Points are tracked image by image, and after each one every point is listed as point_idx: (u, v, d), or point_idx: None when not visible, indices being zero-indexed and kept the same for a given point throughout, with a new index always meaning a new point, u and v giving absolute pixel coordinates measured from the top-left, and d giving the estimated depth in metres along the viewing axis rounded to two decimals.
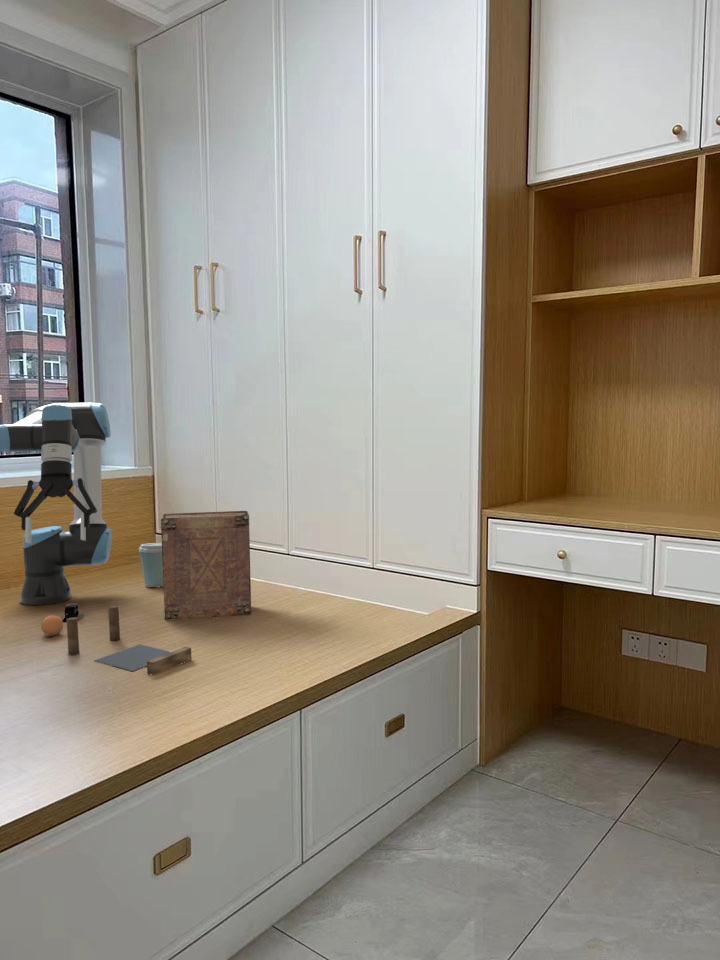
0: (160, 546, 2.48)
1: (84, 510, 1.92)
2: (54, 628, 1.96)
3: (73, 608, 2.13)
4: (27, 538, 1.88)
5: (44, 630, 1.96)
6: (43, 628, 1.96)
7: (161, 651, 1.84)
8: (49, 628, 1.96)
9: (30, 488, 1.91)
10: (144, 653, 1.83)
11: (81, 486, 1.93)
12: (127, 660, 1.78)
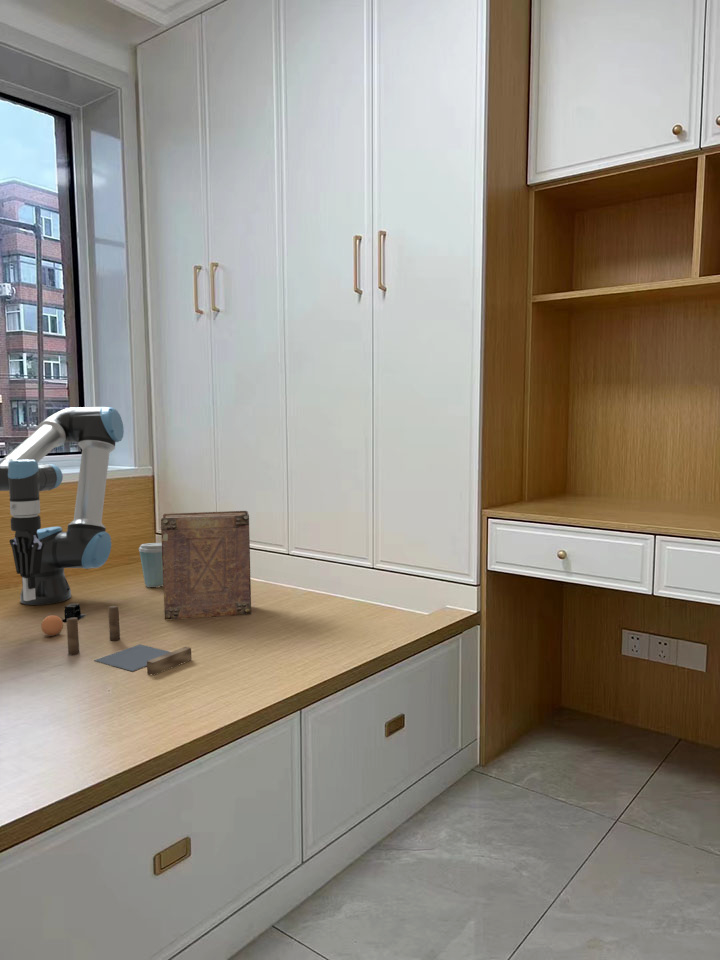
0: (160, 546, 2.48)
1: (27, 573, 2.00)
2: (54, 628, 1.96)
3: (72, 608, 2.13)
4: (24, 597, 2.01)
5: (44, 630, 1.96)
6: (43, 628, 1.96)
7: (161, 651, 1.84)
8: (49, 628, 1.96)
9: (13, 546, 2.03)
10: (144, 653, 1.83)
11: (33, 550, 1.98)
12: (127, 660, 1.78)
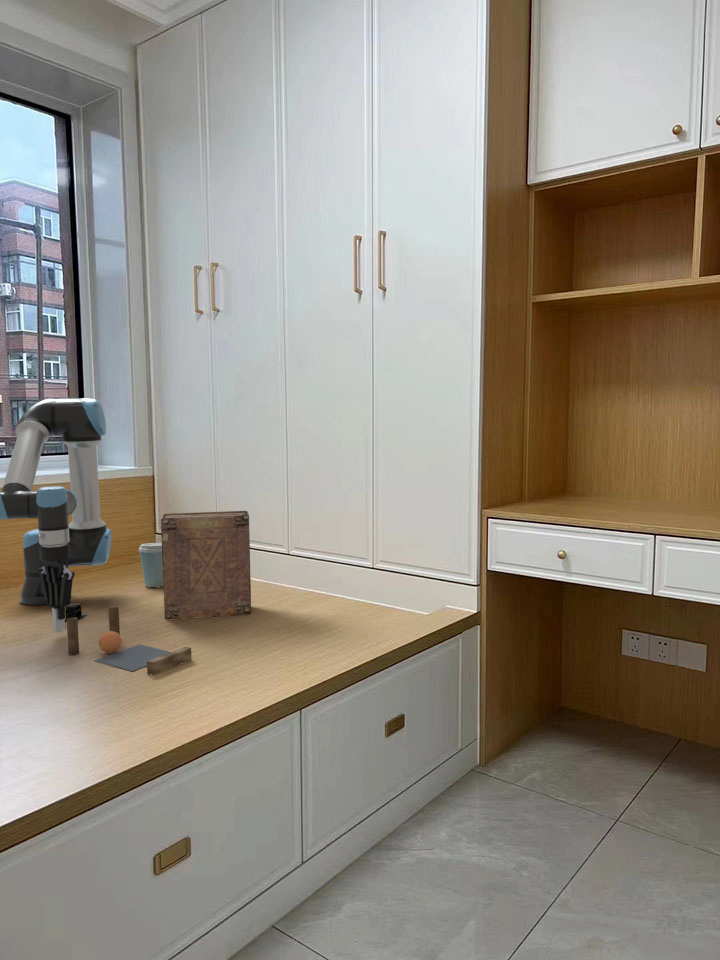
0: (160, 546, 2.48)
1: (56, 604, 1.94)
2: None
3: (73, 608, 2.13)
4: (54, 628, 1.96)
5: (99, 643, 1.82)
6: (100, 645, 1.82)
7: (161, 651, 1.84)
8: (99, 645, 1.83)
9: (41, 575, 1.97)
10: (144, 653, 1.83)
11: (63, 581, 1.92)
12: (127, 660, 1.78)
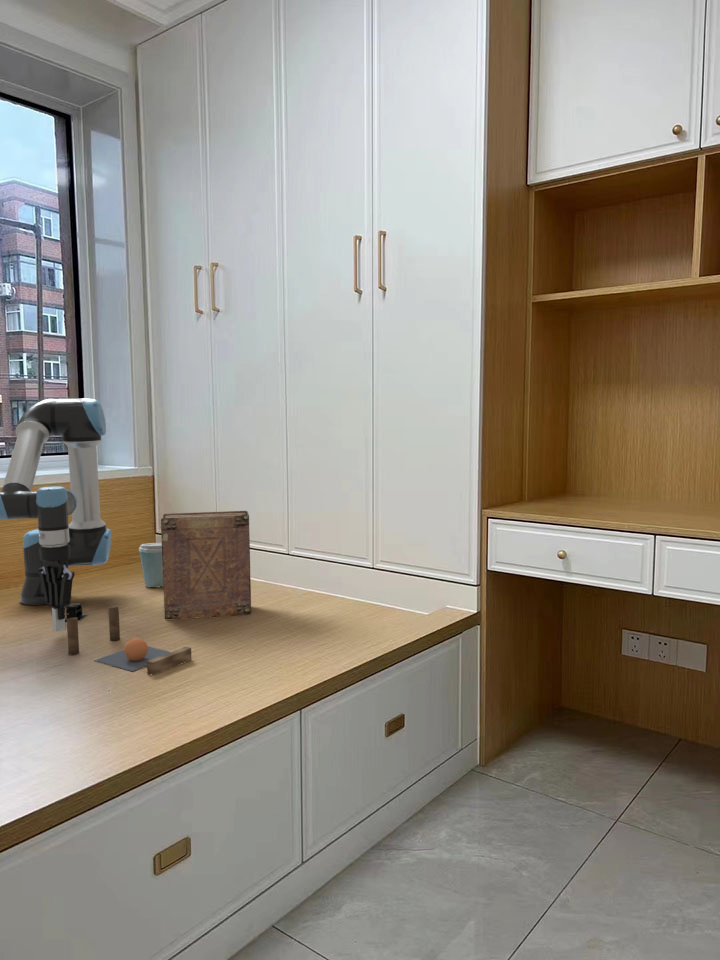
0: (160, 546, 2.48)
1: (56, 604, 1.94)
2: (139, 655, 1.76)
3: (74, 608, 2.13)
4: (54, 628, 1.96)
5: (128, 655, 1.76)
6: (127, 653, 1.76)
7: (161, 651, 1.84)
8: (134, 655, 1.75)
9: (41, 575, 1.97)
10: None
11: (63, 581, 1.92)
12: (127, 660, 1.78)
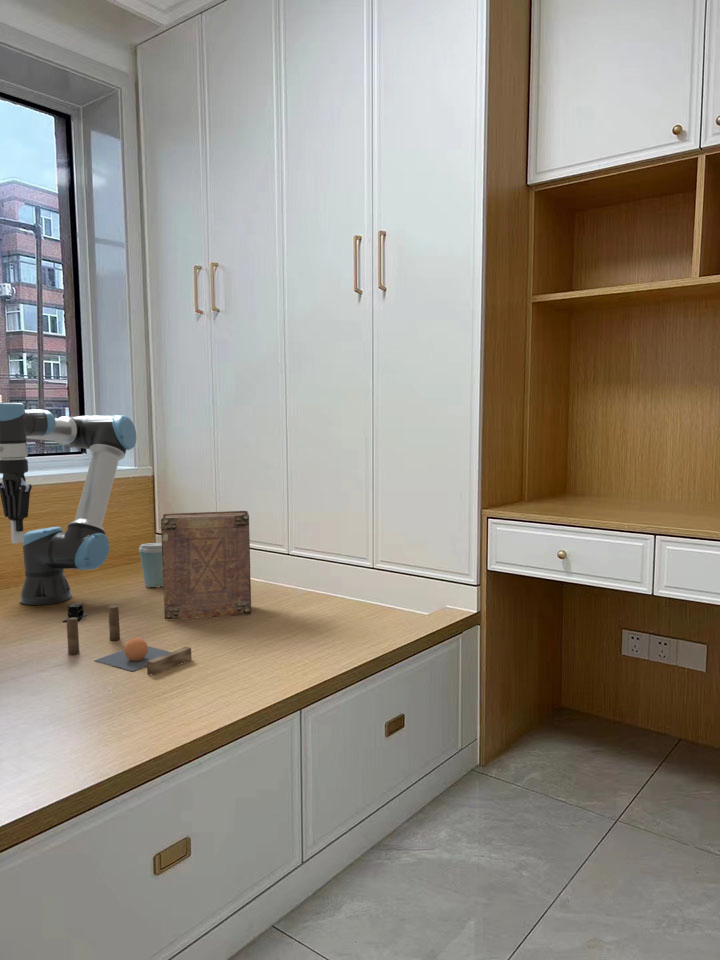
0: (160, 546, 2.48)
1: (14, 516, 2.01)
2: (139, 655, 1.76)
3: (76, 608, 2.13)
4: (12, 540, 2.03)
5: (128, 655, 1.76)
6: (127, 653, 1.76)
7: (161, 651, 1.84)
8: (134, 655, 1.75)
9: (1, 489, 2.04)
10: None
11: (21, 492, 1.99)
12: (127, 660, 1.78)
